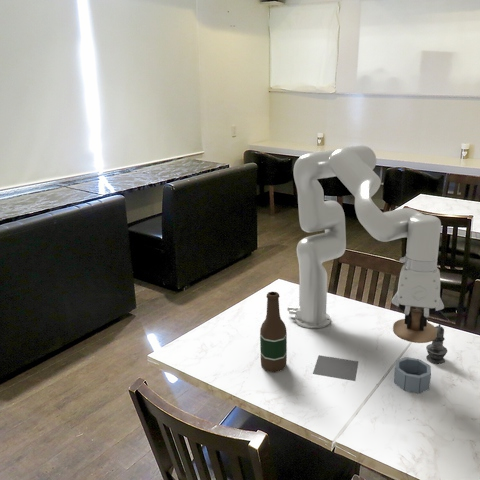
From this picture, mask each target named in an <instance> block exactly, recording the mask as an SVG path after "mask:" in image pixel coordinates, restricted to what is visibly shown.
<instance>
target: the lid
mask: <svg viewBox="0 0 480 480" xmlns="http://www.w3.org/2000/svg"><path fill="white" fill-rule="evenodd" d="M410 312H411V321H410V329H407V324H404V322H405V318H402V319H399V320H396V321H395V322H393V326H392V332H393V334H394V335H395V336H396V337H398V338H400V339H401V340H402V341H403V340H404V341H406V342H409V343H416V344H427V343H432V341H433V340H435V339H436V337H437V329H436V328H435V327H436V326H434V325H433V324H432V323H430V322H429V321H427V326H426V327H425V326H424V330H423V331H421V330H420V328H421V318H422V312H423V311H422V310H421V309H417V308H412V309H410Z"/></svg>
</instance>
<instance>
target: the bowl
mask: <svg viewBox="0 0 480 480" xmlns="http://www.w3.org/2000/svg"><path fill="white" fill-rule="evenodd" d="M394 364H395V365H394V374H393V375H394V376H393V383H394V384H395V385H396V386H398V387H399V388H400V389H401V390H403V391H406V392H409V393H414V394H418V395H419V394H422V393H424V392H427V391H429V390H430V387H431V378H432V369H431V365H430V364H429V363H427V362H425V361H424V360H422V359H420V358H414V357H409V356H408V357H407V356H406V357H402V358H399V359H397V360H395V362H394Z"/></svg>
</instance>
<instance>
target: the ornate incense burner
mask: <svg viewBox="0 0 480 480" xmlns="http://www.w3.org/2000/svg"><path fill="white" fill-rule="evenodd" d="M434 327H435V328H436V329H437V337H436V339H435V340H433V341H431V343H430V344H427V345H426V347H425V348H426V353H427V355H426V360H427V361H428V362H429V363H431V364H434V365H443V364H445V363H446V358H445V356H446V355H447V353H448V349H447V347H445V346H444V341H445V340H446V339H445V336H444V335H445V328H444V327H443V326H442V325H441V324H440V323H439V324H438V325H436V326H434Z"/></svg>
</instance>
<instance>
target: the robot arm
mask: <svg viewBox="0 0 480 480" xmlns="http://www.w3.org/2000/svg"><path fill="white" fill-rule="evenodd" d="M376 165H377V155H376V153H375V152H374V150H373V149H372V148H371V147H369V146H367V145H363V144H362V145H353V146H345V147H341V148H337V149H331V150H322V151H321V150H320V151H314V152H313V151H312V152H308V153H305V154H303V155H302V154H301V156H299V158H297V159H296V160H295V163H294V165H293V179H294V183H295V187H296V192H297V204H298V205H297V206H298V219H299V226H300V228H301V230H302V231H304V232H305V233H317V234H314V235H309V236H306V237H303V238H302V239H301V240H299V241H298V243H297V245H296V256H297V261H298V267H299V269H298V272H299V286H298V287H299V292H298V295H299V297H298V299H299V300H298V302H299V303H298V305H299V306H298V305H296V306H291V305H288V306H287V311H288V312H289V315H295V316H294V322H295V323H296V324H297V325H298V326H300V327H303V328H305V329H310V330H311V329H313V330H314V329H322V328H323V329H324V328H326V327H327V326H328V325H330V323H331V317H330V314H328V313H327V304H328V303H327V298H328V295H327V294H328V293H327V292H328V274H327V270H326V268H325V267H324V266H323V263H324V262H325V263H326V262H327V261H331V260H335V259H338V258H340V257H342V256H343V255H344V254H345V252H346V248H347V237H346V235H347V233H346V230H347V229H346V216H345V212H344V209H343V206H342V205H341V204H340V203H339V202H338V201H336V200H325V195H324V189H323V187H322V185H321V183H320V182H319V180H321V179H328V178H334V177H337V178H338V180H340V182H341V183H342V184H343V185H344V186H345V188H347V190H348V191H349V192H350V193H351V194H352V196H354V210H355V214H356V218H357V219H358V222H359V223H360V224H361V226H363V228H364V230H366V232H367V233H369V235H370V236H371V237H373V238H374V239H375V240H377V241H379V242H383V243H384V242H385V243H387V242H390V241H395V240H399V239H402V238H407V240H406V251H405V255H404V256H403V257H399V263H401V264H403V265H402V267H401V270H400V273H399V277H398V278H399V279H398V285H397V291H396V292H395V294H394V295H393V297H392V299H391V304H393V305H395V306H396V307H398V308H399V309H400V310H401V311H402V312H403V314H404V319H405V322H404V324H407V329H410V321H411V307H413V308H421V309H423V311H422V318H421V328H420V330H421V331H423V330H424V326H425V327H426V326H427V322H428V318H429V317H430V315H432V314H433V313H435V312H436V311H437V312H438V311H441V310H443V309H445V305H444V303H443V301H442V298H441V273H440V269H439V268H438V267H437V266H438V257H439V250H440V249H439V248H440V246H439V245H440V237H441V228H442V222H441V219H440V218H439V217H437V216H435V215H430V214H424V213H422V212H420V211H418V210H416V209H414V208H410V207H404V208H398V209H394V210H389V211H388V210H387V211H384V212H383V211H382V210H381V209H380V208H379V207H378V206H377V205H376V204H375V202H374V201H373V199H372V197H373V196H374V195H375V194H376V193H377V192H378V190H379V189H380V187H381V182H382V181H381V178H380V176H379V175H378V174H377V173H376V172H375V171H374V169H375V167H376ZM321 231H324V232H321ZM318 232H321V233H318Z"/></svg>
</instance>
